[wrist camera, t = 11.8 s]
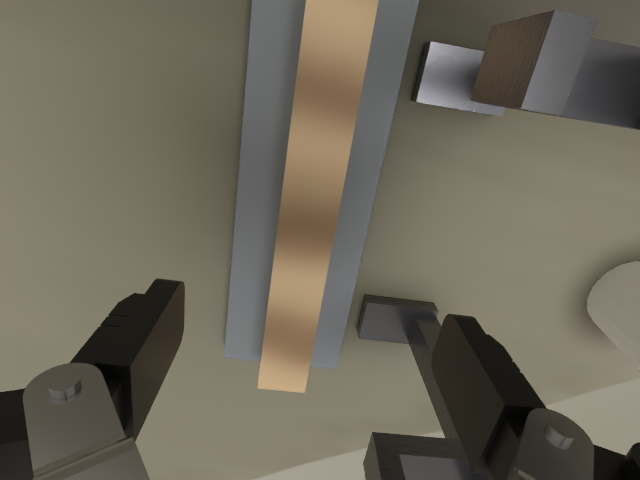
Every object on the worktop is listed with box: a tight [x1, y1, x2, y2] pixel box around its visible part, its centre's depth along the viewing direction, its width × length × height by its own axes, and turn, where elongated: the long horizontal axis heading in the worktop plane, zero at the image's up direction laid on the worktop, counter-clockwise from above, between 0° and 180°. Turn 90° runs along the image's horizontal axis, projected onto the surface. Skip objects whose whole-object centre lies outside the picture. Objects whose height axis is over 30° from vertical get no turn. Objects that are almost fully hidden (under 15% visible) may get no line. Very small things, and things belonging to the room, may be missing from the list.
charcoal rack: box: [357, 10, 640, 480], centre depth 17 cm, size 19×6×17 cm, turn 171°
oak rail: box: [258, 0, 379, 393], centre depth 21 cm, size 23×3×3 cm, turn 171°
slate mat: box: [224, 0, 419, 369], centre depth 23 cm, size 24×8×2 cm, turn 171°
